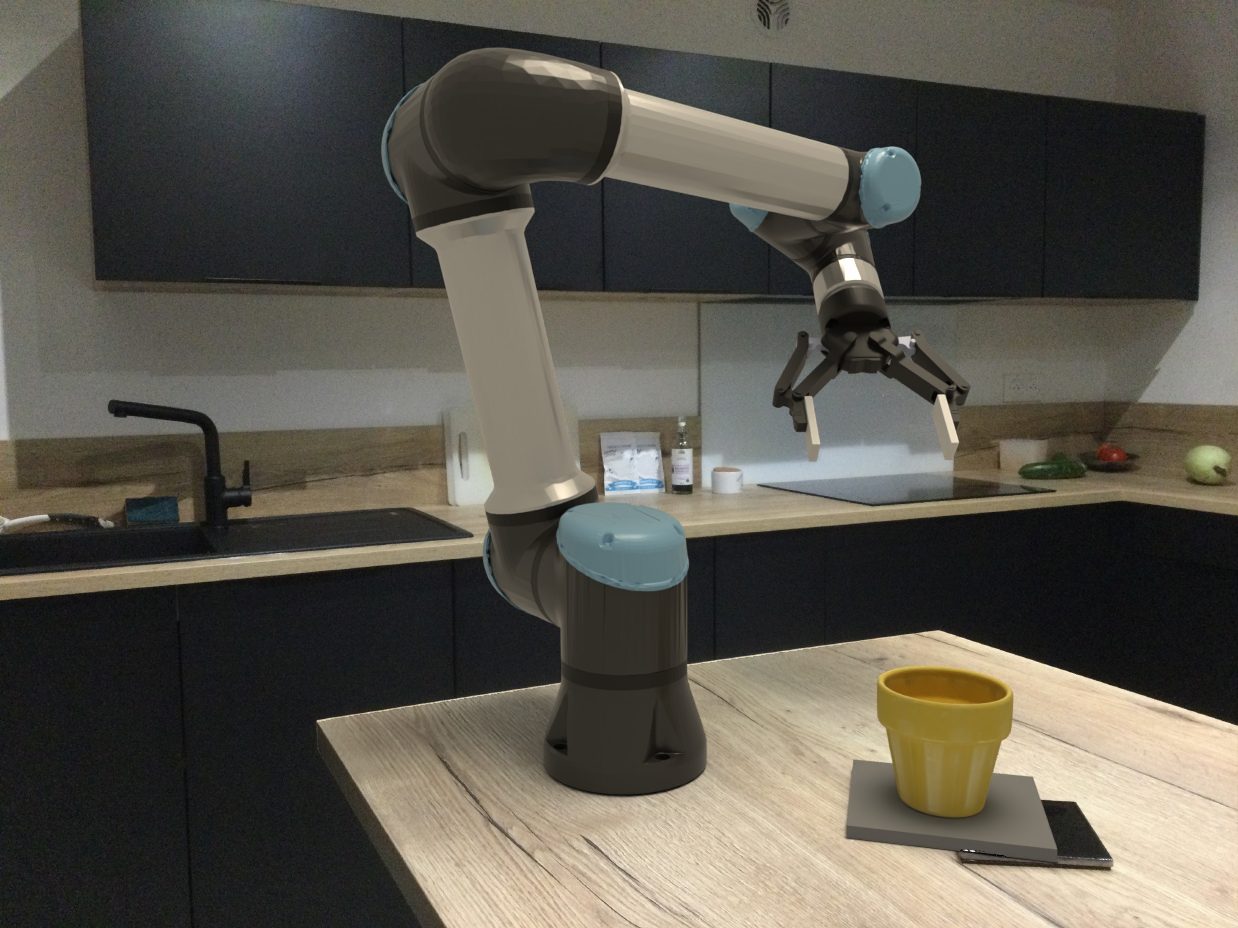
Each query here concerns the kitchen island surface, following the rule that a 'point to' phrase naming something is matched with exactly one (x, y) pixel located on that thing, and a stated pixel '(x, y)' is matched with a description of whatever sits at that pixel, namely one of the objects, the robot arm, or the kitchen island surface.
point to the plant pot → (943, 735)
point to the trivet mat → (999, 827)
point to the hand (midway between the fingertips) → (883, 452)
